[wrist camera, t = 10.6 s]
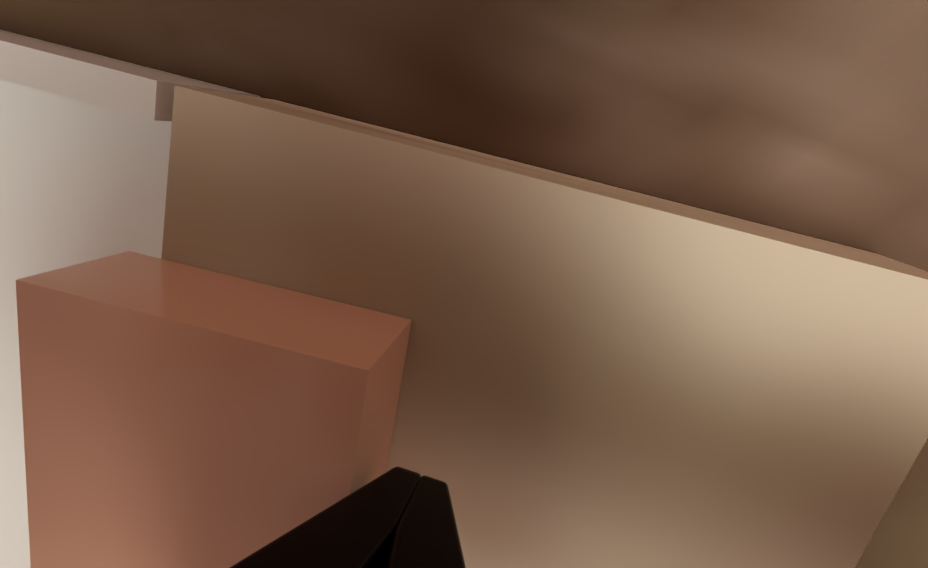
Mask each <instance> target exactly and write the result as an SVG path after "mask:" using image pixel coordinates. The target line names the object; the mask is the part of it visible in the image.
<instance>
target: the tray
mask: <svg viewBox="0 0 928 568" xmlns="http://www.w3.org/2000/svg"><path fill="white" fill-rule="evenodd" d="M175 85H176V86H183V87H190V88H197V89H204V90H211V91H218V92H225V93H232V94H239V95H246V96H253V97H260V96H259V95H255V94H251V93H247V92H243V91H239V90H235V89H231V88H227V87H223V86H219V85H216V84H212V83H208V82H204V81H200V80H196V79H192V78H188V77H184V76H180V75H176V74H173V73H169V72H165V71H161V70H157V69H153V68H149V67H145V66H141V65H137V64H133V63H130V62H126V61H122V60H118V59H114V58H110V57H106V56H102V55H98V54H94V53H90V52H86V51H83V50H79V49H75V48H71V47H67V46H63V45H59V44H55V43H51V42H47V41H43V40H40V39H36V38H32V37H28V36H24V35H20V34H16V33H12V32H8V31H4V30H0V568H31V565H30V546H29V527H28V508H27V489H26V470H25V451H24V432H23V412H22V393H21V374H20V355H19V336H18V317H17V298H16V280H17V279H21V278H25V277H29V276H32V275H36V274H40V273H44V272H48V271H52V270H56V269H60V268H64V267H68V266H72V265H76V264H80V263H84V262H88V261H92V260H96V259H99V258H103V257H107V256H111V255H115V254H119V253H123V252H127V251H132V252H136V253H140V254H144V255H148V256H152V257H156V258H160V259H161V256H162V243H163V230H164V217H165V204H166V191H167V178H168V165H169V152H170V139H171V126H172V113H173V99H174V86H175Z"/></svg>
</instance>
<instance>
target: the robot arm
mask: <svg viewBox="0 0 928 568" xmlns="http://www.w3.org/2000/svg"><path fill="white" fill-rule="evenodd" d="M229 568H466V567H465V562H464V557H463V553H462V548H461V544H460V539H459V534H458V530H457V525H456V521H455V516H454V511H453V507H452V502H451V498H450V493H449V488H448V485H447V484H446V482H444V481H441V480H438V479H435V478H432V477H429V476H425V475H423V476H421V475H420V474H419V473H417V472H414V471H411V470H408V469H405V468H402V467H394V468H392V469H390V470H389V471H387V472H385V473H384V474H382V475H381V476H379V477H377V478H376V479H374V480H372V481H371V482H369V483H367V484H366V485H364V486H362V487H361V488H359V489H358V490H356V491H354V492H353V493H351V494H349V495H348V496H346V497H344V498H343V499H341V500H339V501H338V502H336V503H335V504H333V505H331V506H330V507H328V508H326V509H325V510H323V511H321V512H320V513H318V514H316V515H315V516H313V517H312V518H310V519H308V520H307V521H305V522H303V523H302V524H300V525H298V526H297V527H295V528H293V529H292V530H290V531H289V532H287V533H285V534H284V535H282V536H280V537H279V538H277V539H275V540H274V541H272V542H270V543H269V544H267V545H266V546H264V547H262V548H261V549H259V550H257V551H256V552H254V553H252V554H251V555H249V556H247V557H246V558H244V559H243V560H241V561H239V562H238V563H236V564H234V565H233V566H231V567H229Z"/></svg>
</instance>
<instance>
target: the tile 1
mask: <svg viewBox="0 0 928 568" xmlns="http://www.w3.org/2000/svg"><path fill="white" fill-rule="evenodd" d="M16 298H17V317H18V336H19V355H20V374H21V393H22V412H23V432H24V451H25V470H26V489H27V508H28V527H29V546H30V565H31V568H229V567H231V566H233V565H234V564H236V563H238V562H239V561H241V560H243V559H244V558H246V557H247V556H249V555H251V554H252V553H254V552H256V551H257V550H259V549H261V548H262V547H264V546H266V545H267V544H269V543H270V542H272V541H274V540H275V539H277V538H279V537H280V536H282V535H284V534H285V533H287V532H289V531H290V530H292V529H293V528H295V527H297V526H298V525H300V524H302V523H303V522H305V521H307V520H308V519H310V518H312V517H313V516H315V515H316V514H318V513H320V512H321V511H323V510H325V509H326V508H328V507H330V506H331V505H333V504H335V503H336V502H338V501H339V500H341V499H343V498H344V497H346V496H348V495H349V494H351V493H353V492H354V491H356V490H358V489H359V488H361V487H362V486H364V485H366V484H367V483H369V482H371V481H372V480H374V479H376V478H377V477H379V476H381V475H382V474H384V473H385V472H386V470H387V464H388V458H389V452H390V446H391V440H392V435H393V429H394V423H395V417H396V411H397V405H398V399H399V393H400V387H401V381H402V376H403V370H404V364H405V358H406V352H407V346H408V340H409V334H410V328H411V322H412V320H411V319H407V318H403V317H399V316H395V315H391V314H387V313H382V312H378V311H374V310H370V309H366V308H362V307H358V306H354V305H350V304H345V303H341V302H337V301H333V300H329V299H325V298H321V297H317V296H313V295H308V294H304V293H300V292H296V291H292V290H288V289H284V288H280V287H276V286H271V285H267V284H263V283H259V282H255V281H251V280H247V279H243V278H239V277H234V276H230V275H226V274H222V273H218V272H214V271H210V270H206V269H202V268H197V267H193V266H189V265H185V264H181V263H177V262H173V261H169V260H165V259H160V258H156V257H152V256H148V255H144V254H140V253H136V252H132V251H127V252H123V253H119V254H115V255H111V256H107V257H103V258H99V259H96V260H92V261H88V262H84V263H80V264H76V265H72V266H68V267H64V268H60V269H56V270H52V271H48V272H44V273H40V274H36V275H32V276H29V277H25V278H21V279H17V280H16Z"/></svg>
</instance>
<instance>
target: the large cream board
mask: <svg viewBox="0 0 928 568" xmlns="http://www.w3.org/2000/svg"><path fill="white" fill-rule="evenodd" d="M161 259H165V260H169V261H173V262H177V263H181V264H185V265H189V266H193V267H197V268H202V269H206V270H210V271H214V272H218V273H222V274H226V275H230V276H234V277H239V278H243V279H247V280H251V281H255V282H259V283H263V284H267V285H271V286H276V287H280V288H284V289H288V290H292V291H296V292H300V293H304V294H308V295H313V296H317V297H321V298H325V299H329V300H333V301H337V302H341V303H345V304H350V305H354V306H358V307H362V308H366V309H370V310H374V311H378V312H382V313H387V314H391V315H395V316H399V317H403V318H407V319H411V320H412V322H411V328H410V334H409V340H408V346H407V352H406V358H405V364H404V370H403V376H402V381H401V387H400V393H399V399H398V405H397V411H396V417H395V423H394V429H393V435H392V440H391V446H390V452H389V458H388V464H387V470H386V472H387V471H389V470H390V469H392V468H394V467H402V468H405V469H408V470H411V471H414V472H417V473H419V474H420V475H421V476H423V475H425V476H429V477H432V478H435V479H438V480H441V481H444V482H446V484H447V485H448V488H449V493H450V498H451V502H452V507H453V511H454V516H455V521H456V525H457V530H458V534H459V539H460V544H461V548H462V553H463V557H464V562H465V567H466V568H855V567H856V565H857V563H858V561H859V560H860V558H861V556H862V554H863V553H864V551H865V549H866V547H867V545H868V544H869V542H870V540H871V538H872V537H873V535H874V533H875V531H876V529H877V528H878V526H879V524H880V522H881V520H882V519H883V517H884V515H885V513H886V512H887V510H888V508H889V506H890V504H891V503H892V501H893V499H894V497H895V496H896V494H897V492H898V490H899V488H900V487H901V485H902V483H903V481H904V480H905V478H906V476H907V474H908V472H909V471H910V469H911V467H912V465H913V464H914V462H915V460H916V458H917V456H918V455H919V453H920V451H921V449H922V448H923V446H924V444H925V442H926V440H927V439H928V272H927V271H924V270H921V269H919V268H916V267H913V266H910V265H908V264H905V263H902V262H899V261H896V260H894V259H891V258H888V257H885V256H882V255H880V254H876V253H872V252H868V251H865V250H861V249H857V248H853V247H849V246H845V245H841V244H837V243H833V242H829V241H825V240H822V239H818V238H814V237H810V236H806V235H802V234H798V233H794V232H790V231H786V230H782V229H779V228H775V227H771V226H767V225H763V224H759V223H755V222H751V221H747V220H743V219H739V218H736V217H732V216H728V215H724V214H720V213H716V212H712V211H708V210H704V209H700V208H696V207H693V206H689V205H685V204H681V203H677V202H673V201H669V200H665V199H661V198H657V197H653V196H650V195H646V194H642V193H638V192H634V191H630V190H626V189H622V188H618V187H614V186H610V185H607V184H603V183H599V182H595V181H591V180H587V179H583V178H579V177H575V176H571V175H567V174H564V173H560V172H556V171H552V170H548V169H544V168H540V167H536V166H532V165H528V164H524V163H520V162H517V161H513V160H509V159H505V158H501V157H497V156H493V155H489V154H485V153H481V152H477V151H474V150H470V149H466V148H462V147H458V146H454V145H450V144H446V143H442V142H438V141H434V140H431V139H427V138H423V137H419V136H415V135H411V134H407V133H403V132H399V131H395V130H391V129H388V128H384V127H380V126H376V125H372V124H368V123H364V122H360V121H356V120H352V119H348V118H345V117H341V116H337V115H333V114H329V113H325V112H321V111H317V110H313V109H309V108H305V107H302V106H298V105H294V104H290V103H286V102H282V101H278V100H274V99H267V98H260V97H253V96H246V95H239V94H232V93H225V92H218V91H211V90H204V89H197V88H190V87H183V86H176V85H175V86H174V99H173V113H172V126H171V139H170V152H169V165H168V178H167V191H166V204H165V217H164V230H163V243H162V256H161Z"/></svg>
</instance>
